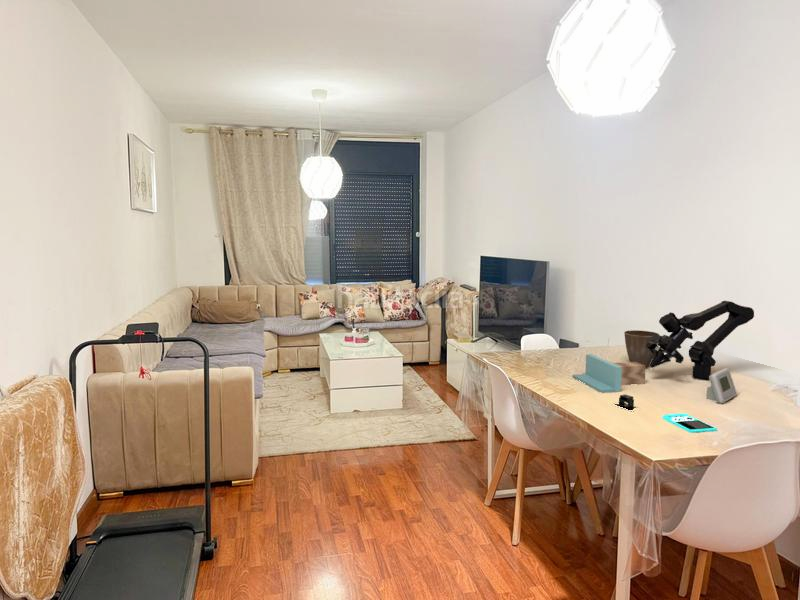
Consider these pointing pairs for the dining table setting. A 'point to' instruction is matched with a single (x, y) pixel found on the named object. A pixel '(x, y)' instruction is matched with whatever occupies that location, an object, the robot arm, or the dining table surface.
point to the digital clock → (721, 386)
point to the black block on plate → (628, 400)
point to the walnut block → (632, 373)
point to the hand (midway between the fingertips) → (650, 366)
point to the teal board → (601, 374)
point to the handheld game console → (688, 423)
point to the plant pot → (639, 346)
